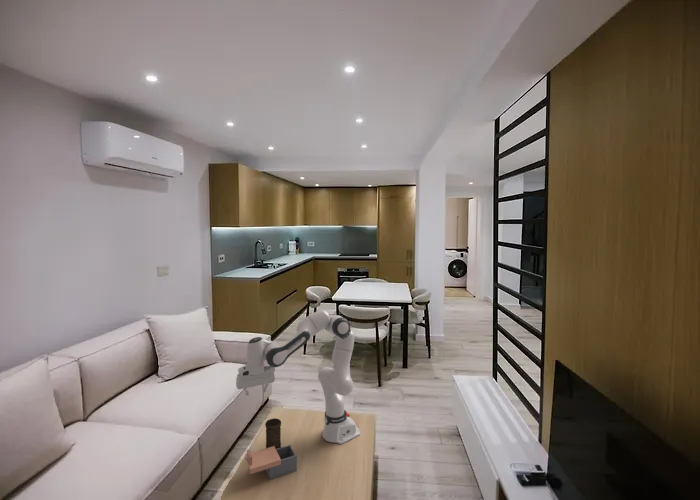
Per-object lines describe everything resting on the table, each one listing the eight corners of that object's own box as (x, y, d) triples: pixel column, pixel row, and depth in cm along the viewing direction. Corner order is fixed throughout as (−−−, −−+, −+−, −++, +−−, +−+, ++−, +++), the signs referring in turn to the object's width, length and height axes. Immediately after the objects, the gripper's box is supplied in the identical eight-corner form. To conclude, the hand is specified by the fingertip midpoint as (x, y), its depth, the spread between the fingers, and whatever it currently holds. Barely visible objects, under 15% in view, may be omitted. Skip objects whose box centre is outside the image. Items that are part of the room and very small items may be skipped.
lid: (274, 450, 186) (274, 438, 185) (280, 464, 175) (281, 452, 175) (244, 459, 179) (244, 447, 178) (250, 474, 168) (250, 461, 168)
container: (277, 460, 188) (277, 428, 186) (262, 458, 190) (262, 426, 188) (284, 449, 197) (284, 418, 195) (269, 447, 199) (269, 416, 197)
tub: (290, 458, 190) (290, 444, 189) (296, 470, 181) (296, 455, 180) (264, 467, 183) (264, 452, 182) (269, 479, 174) (269, 464, 173)
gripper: (273, 362, 197) (273, 386, 198) (235, 369, 188) (235, 394, 189) (276, 366, 192) (276, 391, 193) (237, 374, 182) (237, 399, 183)
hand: (255, 392), depth 191 cm, fingers open, 8 cm apart
